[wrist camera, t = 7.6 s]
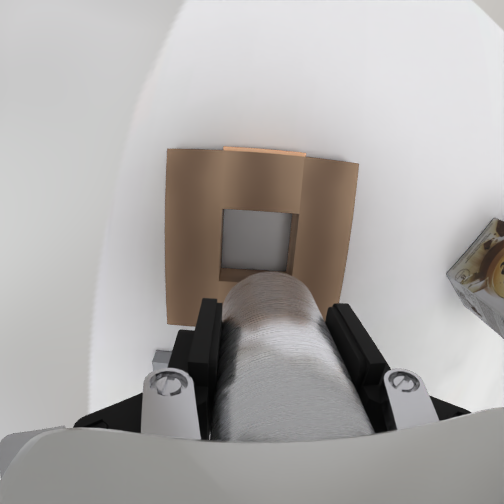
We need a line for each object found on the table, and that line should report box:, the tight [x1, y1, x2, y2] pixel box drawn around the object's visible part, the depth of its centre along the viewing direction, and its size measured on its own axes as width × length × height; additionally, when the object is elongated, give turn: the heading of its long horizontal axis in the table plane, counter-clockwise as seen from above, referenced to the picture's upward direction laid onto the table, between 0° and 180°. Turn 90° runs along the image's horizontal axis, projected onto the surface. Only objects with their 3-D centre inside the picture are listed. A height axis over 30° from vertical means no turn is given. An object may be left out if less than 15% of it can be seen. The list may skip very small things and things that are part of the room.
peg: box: [210, 272, 375, 442], centre depth 9 cm, size 4×4×9 cm
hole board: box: [165, 146, 359, 327], centre depth 25 cm, size 14×14×3 cm
